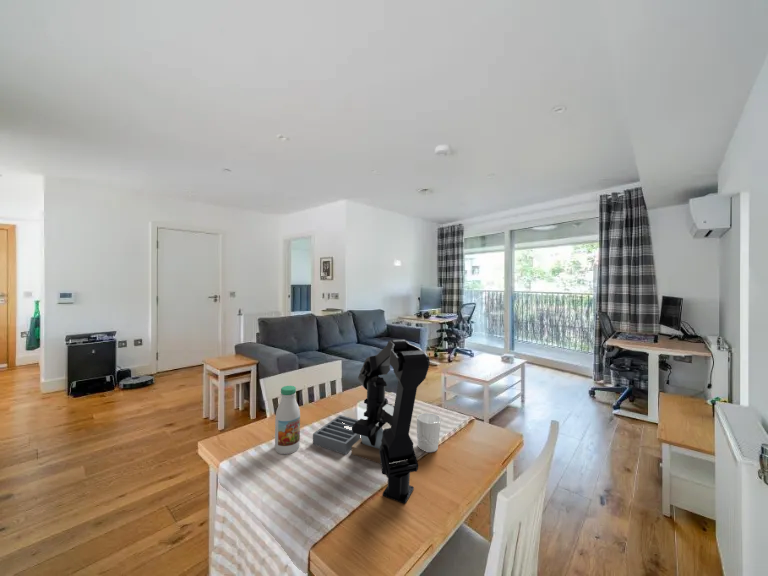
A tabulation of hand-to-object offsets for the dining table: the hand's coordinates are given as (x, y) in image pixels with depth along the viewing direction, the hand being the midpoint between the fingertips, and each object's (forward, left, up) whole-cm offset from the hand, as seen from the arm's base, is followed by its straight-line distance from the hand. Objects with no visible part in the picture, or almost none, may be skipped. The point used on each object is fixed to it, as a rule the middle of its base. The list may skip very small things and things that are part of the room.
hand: (374, 444), depth 101 cm
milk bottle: (-11, +26, -3) cm, 28 cm away
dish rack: (+3, +14, -3) cm, 15 cm away
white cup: (+12, -14, -3) cm, 19 cm away
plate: (0, 0, -3) cm, 3 cm away
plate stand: (0, 0, -3) cm, 3 cm away
